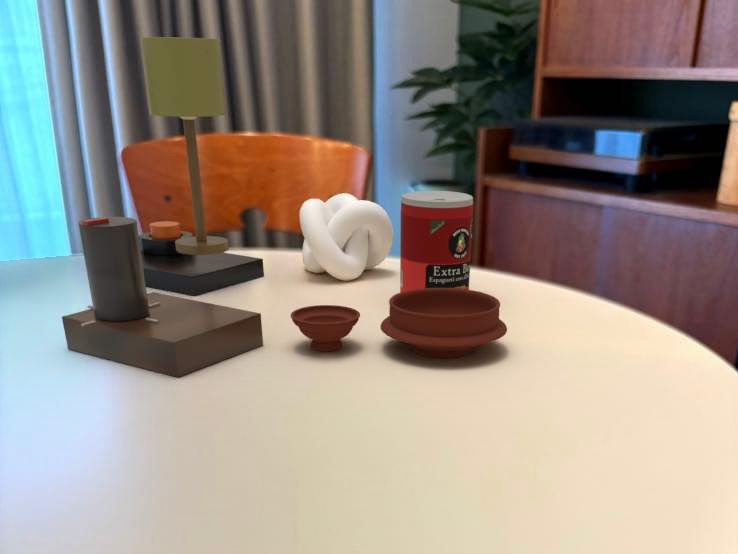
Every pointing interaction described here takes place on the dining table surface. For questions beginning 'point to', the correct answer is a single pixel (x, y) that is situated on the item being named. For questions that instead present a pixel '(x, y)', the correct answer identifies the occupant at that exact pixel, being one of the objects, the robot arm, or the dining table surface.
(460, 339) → the pottery
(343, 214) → the white knot sculpture
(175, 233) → the lamp switch
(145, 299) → the dimmer knob
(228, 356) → the panel
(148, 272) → the lamp base
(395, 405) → the dining table surface
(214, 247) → the desk lamp
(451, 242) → the canned food
